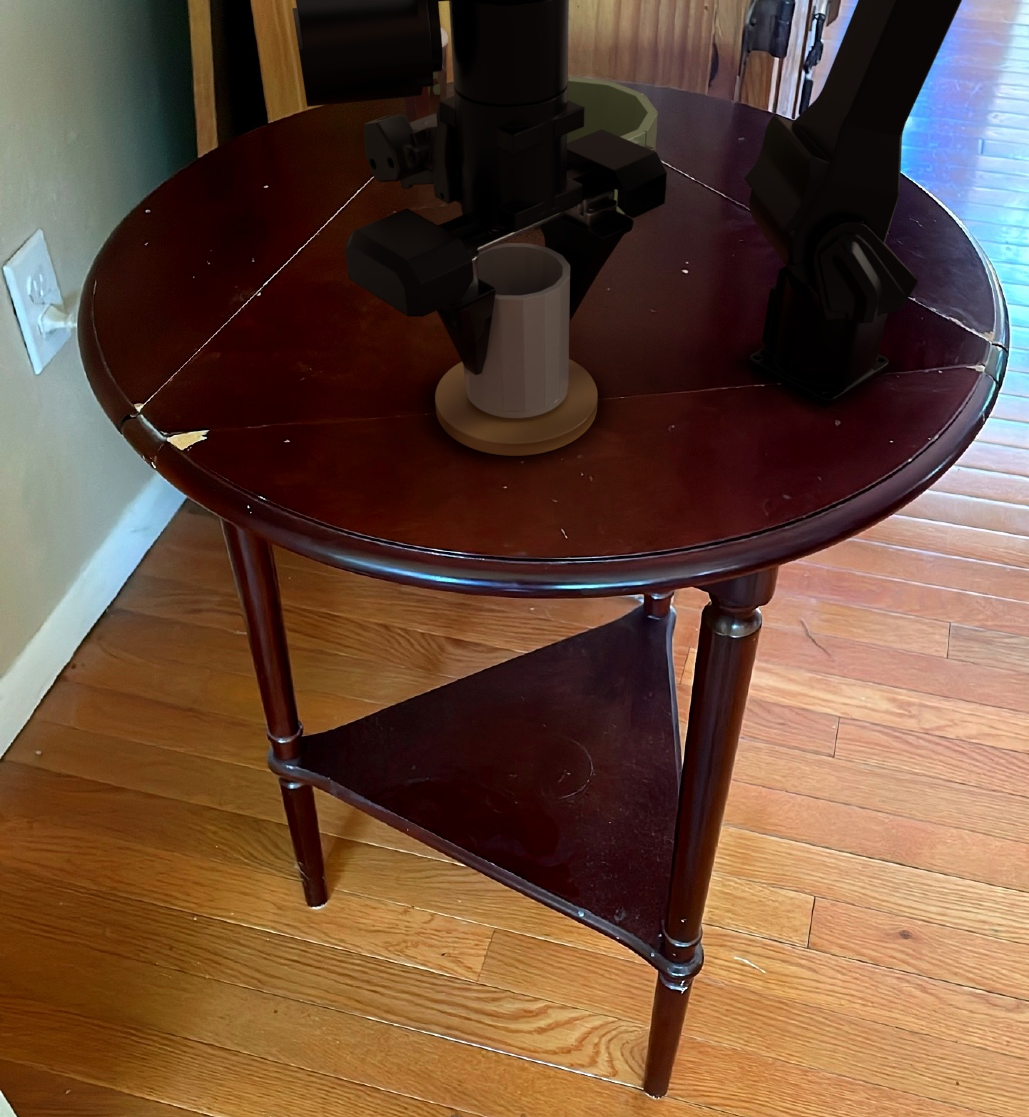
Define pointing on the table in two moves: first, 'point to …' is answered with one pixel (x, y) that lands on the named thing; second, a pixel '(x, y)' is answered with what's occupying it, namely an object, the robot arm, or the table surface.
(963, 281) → the table surface
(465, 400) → the disc
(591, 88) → the big pot
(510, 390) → the small pot
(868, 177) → the robot arm
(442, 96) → the milkshake
